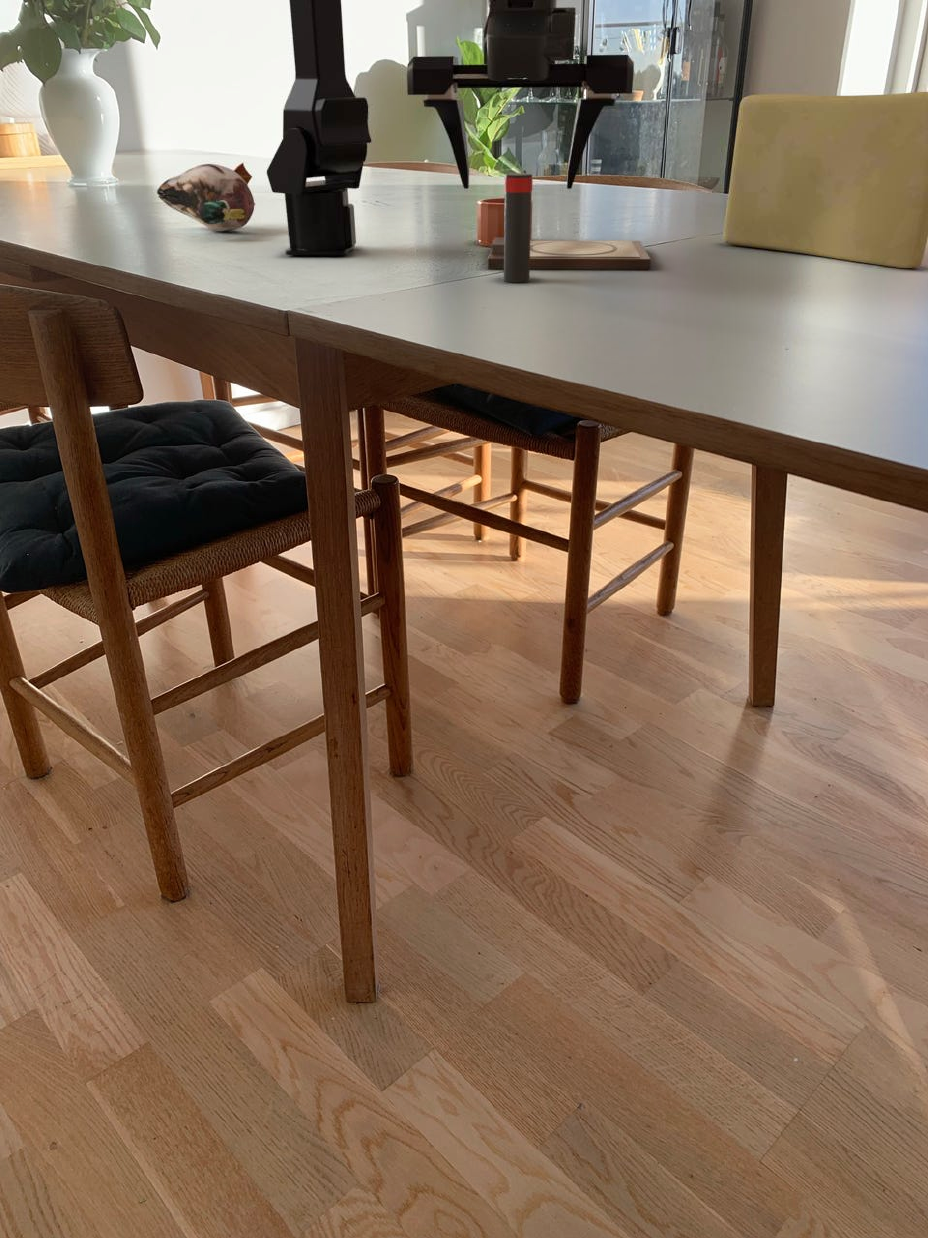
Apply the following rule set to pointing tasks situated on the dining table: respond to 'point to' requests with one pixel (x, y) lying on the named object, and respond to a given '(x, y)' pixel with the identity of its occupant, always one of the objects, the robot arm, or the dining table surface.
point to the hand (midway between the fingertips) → (517, 188)
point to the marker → (517, 226)
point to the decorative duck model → (211, 196)
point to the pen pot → (491, 220)
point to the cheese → (832, 176)
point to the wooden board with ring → (578, 255)
